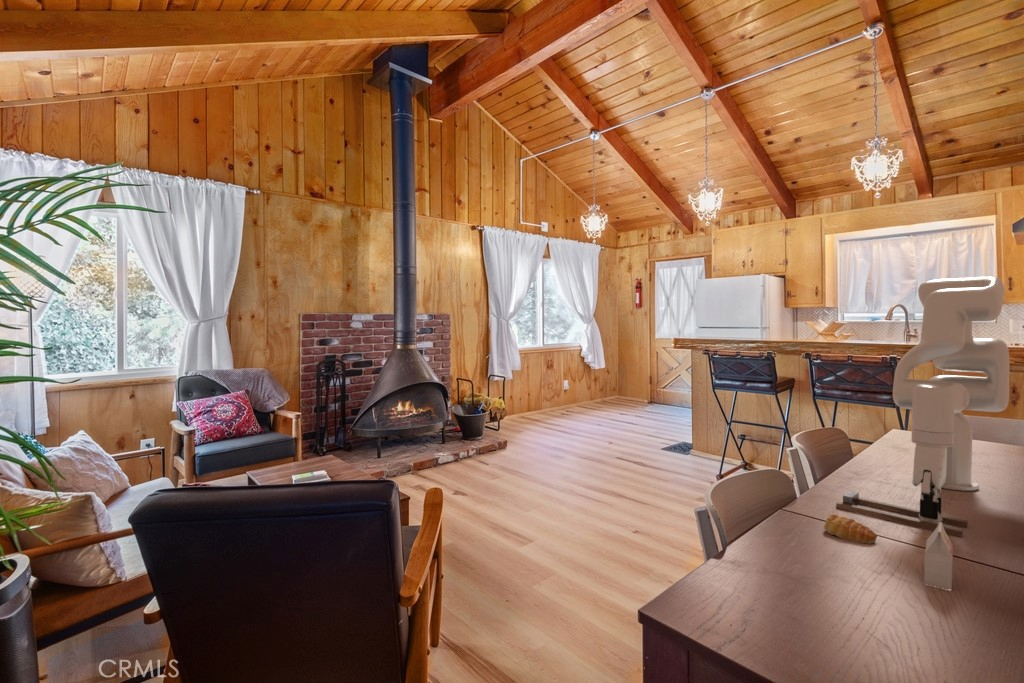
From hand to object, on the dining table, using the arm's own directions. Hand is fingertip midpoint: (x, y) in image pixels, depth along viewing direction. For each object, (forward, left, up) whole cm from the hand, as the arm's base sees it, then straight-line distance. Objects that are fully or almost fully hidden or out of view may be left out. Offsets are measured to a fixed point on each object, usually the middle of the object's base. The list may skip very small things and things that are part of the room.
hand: (930, 514), depth 117 cm
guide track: (0, -6, -2) cm, 6 cm away
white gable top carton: (+32, +6, -2) cm, 33 cm away
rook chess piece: (0, 0, -2) cm, 2 cm away
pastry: (+21, -11, -3) cm, 24 cm away
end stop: (0, -16, -2) cm, 16 cm away
